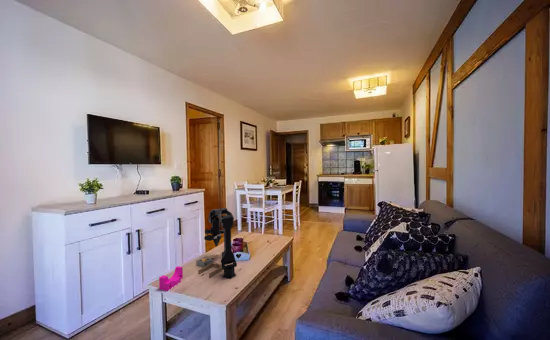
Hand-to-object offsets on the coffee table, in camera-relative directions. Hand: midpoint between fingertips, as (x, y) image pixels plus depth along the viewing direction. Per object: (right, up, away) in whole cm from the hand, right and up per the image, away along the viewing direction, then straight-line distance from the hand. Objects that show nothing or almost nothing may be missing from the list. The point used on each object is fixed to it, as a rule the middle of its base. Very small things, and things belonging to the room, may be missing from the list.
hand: (216, 246), depth 169 cm
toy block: (-18, -13, -32) cm, 39 cm away
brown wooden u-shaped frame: (+1, -12, -17) cm, 20 cm away
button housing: (-7, -12, -5) cm, 15 cm away
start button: (-7, -11, -5) cm, 14 cm away
